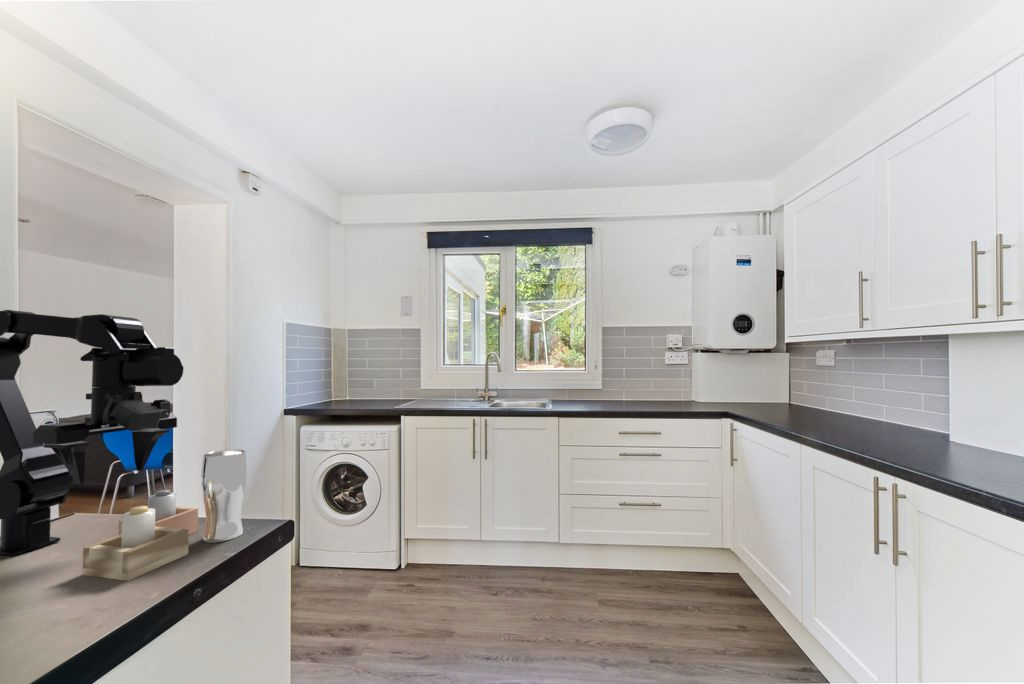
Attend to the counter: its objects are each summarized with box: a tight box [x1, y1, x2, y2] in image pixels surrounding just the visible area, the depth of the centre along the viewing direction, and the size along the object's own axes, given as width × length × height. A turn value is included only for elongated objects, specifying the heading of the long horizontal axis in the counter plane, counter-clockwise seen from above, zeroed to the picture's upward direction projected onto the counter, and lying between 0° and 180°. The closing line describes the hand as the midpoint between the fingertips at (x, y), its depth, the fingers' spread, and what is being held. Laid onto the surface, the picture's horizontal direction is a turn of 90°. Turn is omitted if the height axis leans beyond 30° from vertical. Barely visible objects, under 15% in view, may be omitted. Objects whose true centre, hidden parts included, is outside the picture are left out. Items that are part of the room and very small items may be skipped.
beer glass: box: [200, 449, 247, 544], centre depth 79 cm, size 7×7×15 cm
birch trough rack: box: [82, 526, 190, 582], centre depth 68 cm, size 9×9×4 cm
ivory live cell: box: [121, 505, 155, 548], centre depth 68 cm, size 4×4×8 cm
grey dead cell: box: [147, 489, 178, 522], centre depth 79 cm, size 4×4×8 cm
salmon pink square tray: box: [117, 506, 199, 536], centre depth 79 cm, size 8×8×4 cm
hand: (111, 476), depth 75 cm, fingers open, 9 cm apart
